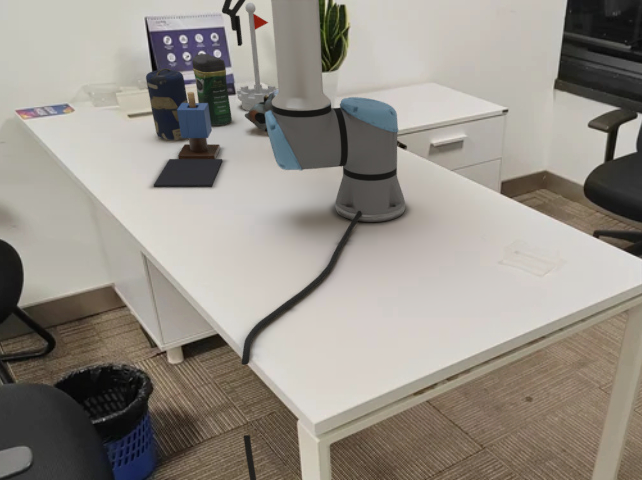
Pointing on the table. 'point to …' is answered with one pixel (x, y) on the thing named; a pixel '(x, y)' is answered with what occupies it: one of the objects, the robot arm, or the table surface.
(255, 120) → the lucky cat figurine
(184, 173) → the mat
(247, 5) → the flag stand
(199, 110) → the block
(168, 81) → the canister
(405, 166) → the table surface
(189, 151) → the stand
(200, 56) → the coffee jar
